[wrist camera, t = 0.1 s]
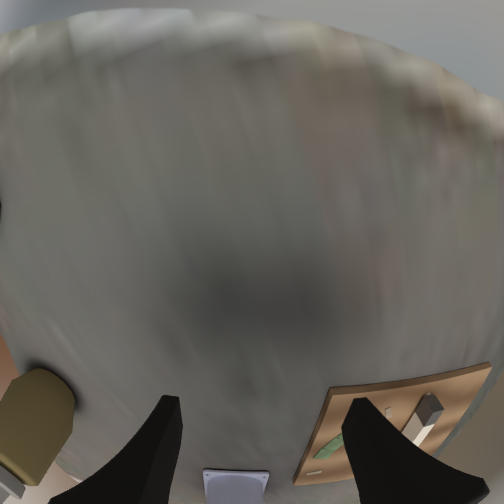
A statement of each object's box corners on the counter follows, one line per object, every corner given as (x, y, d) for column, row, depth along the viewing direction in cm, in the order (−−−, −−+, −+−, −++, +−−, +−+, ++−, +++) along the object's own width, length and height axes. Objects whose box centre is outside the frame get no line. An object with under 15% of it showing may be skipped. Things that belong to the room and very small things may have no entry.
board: (426, 453, 30) (429, 458, 29) (292, 479, 29) (293, 486, 28) (488, 362, 24) (493, 367, 23) (329, 387, 23) (333, 396, 22)
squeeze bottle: (92, 392, 23) (28, 539, 6) (76, 421, 25) (27, 538, 8) (29, 345, 21) (-62, 469, 4) (22, 382, 23) (-44, 486, 6)
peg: (397, 456, 27) (404, 473, 24) (371, 462, 27) (378, 480, 24) (442, 391, 23) (454, 409, 20) (414, 397, 23) (426, 417, 20)
